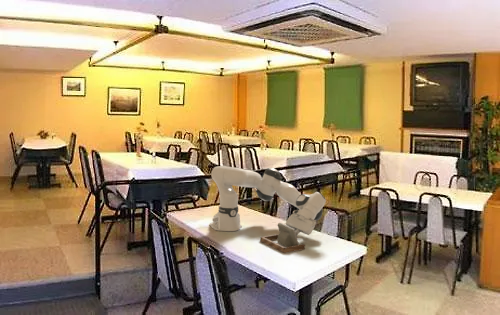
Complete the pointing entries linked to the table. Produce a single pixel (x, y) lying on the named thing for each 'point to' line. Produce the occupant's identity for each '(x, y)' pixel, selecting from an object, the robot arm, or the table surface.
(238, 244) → the table surface
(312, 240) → the table surface
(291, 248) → the frame
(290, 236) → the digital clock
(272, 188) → the robot arm
